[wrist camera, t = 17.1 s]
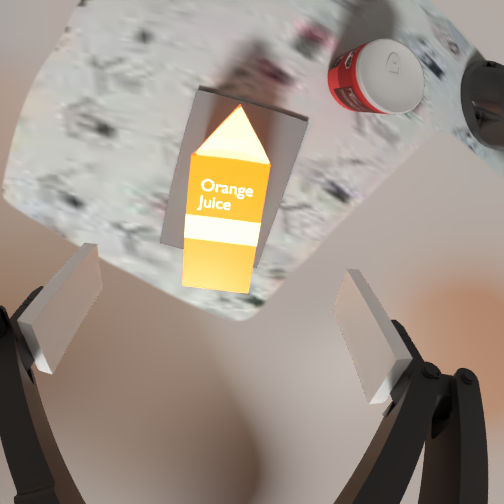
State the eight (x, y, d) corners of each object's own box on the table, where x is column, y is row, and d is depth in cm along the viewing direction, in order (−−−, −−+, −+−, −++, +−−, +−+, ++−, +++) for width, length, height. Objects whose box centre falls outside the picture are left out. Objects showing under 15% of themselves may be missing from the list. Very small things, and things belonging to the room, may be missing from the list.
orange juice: (181, 285, 33) (197, 98, 24) (192, 250, 41) (208, 101, 32) (249, 294, 34) (282, 109, 25) (248, 257, 42) (273, 109, 33)
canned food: (374, 53, 30) (417, 40, 20) (384, 109, 33) (430, 113, 23) (319, 55, 30) (349, 36, 20) (331, 114, 34) (365, 117, 24)
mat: (307, 122, 34) (308, 122, 34) (256, 265, 43) (256, 267, 42) (198, 89, 32) (197, 89, 31) (160, 241, 41) (159, 242, 40)
